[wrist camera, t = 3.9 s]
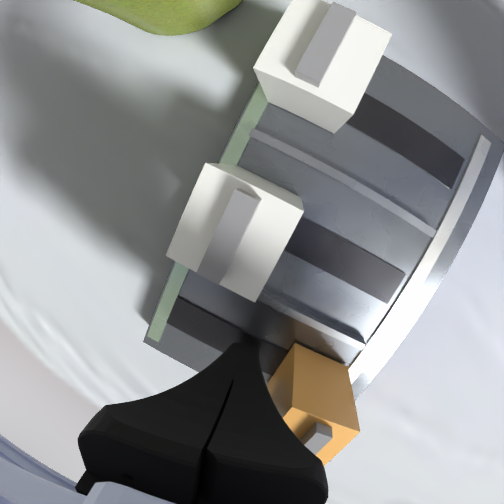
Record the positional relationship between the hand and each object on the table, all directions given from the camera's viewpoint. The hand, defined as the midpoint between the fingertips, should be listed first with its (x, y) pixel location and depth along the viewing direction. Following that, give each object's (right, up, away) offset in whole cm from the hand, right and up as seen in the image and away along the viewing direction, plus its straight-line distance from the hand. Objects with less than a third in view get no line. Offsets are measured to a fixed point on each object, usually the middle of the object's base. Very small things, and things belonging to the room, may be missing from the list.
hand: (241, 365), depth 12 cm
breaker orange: (+3, -1, +1) cm, 3 cm away
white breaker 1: (0, +6, 0) cm, 6 cm away
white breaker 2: (+3, +10, -2) cm, 11 cm away
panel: (+3, +5, +1) cm, 6 cm away
